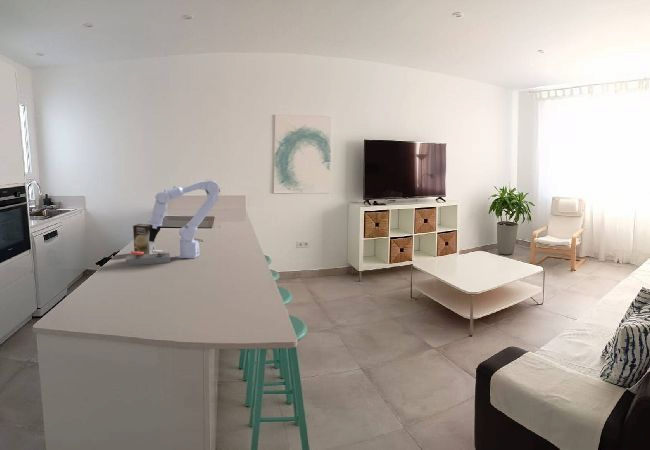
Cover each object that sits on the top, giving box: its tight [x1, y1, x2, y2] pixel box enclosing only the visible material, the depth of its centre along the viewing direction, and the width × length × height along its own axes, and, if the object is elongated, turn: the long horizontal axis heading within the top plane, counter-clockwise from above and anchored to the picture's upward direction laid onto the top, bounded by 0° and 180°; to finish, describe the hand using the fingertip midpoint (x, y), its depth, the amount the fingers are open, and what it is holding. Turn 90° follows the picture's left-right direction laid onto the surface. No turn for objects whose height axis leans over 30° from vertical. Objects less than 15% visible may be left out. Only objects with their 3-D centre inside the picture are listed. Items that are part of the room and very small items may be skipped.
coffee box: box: [132, 223, 156, 254], centre depth 219 cm, size 9×6×16 cm
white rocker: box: [152, 249, 166, 254], centre depth 206 cm, size 6×3×1 cm, turn 114°
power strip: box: [125, 252, 171, 266], centre depth 203 cm, size 20×9×3 cm, turn 114°
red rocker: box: [130, 250, 144, 255], centre depth 202 cm, size 6×3×1 cm, turn 114°
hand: (151, 240), depth 206 cm, fingers open, 7 cm apart
